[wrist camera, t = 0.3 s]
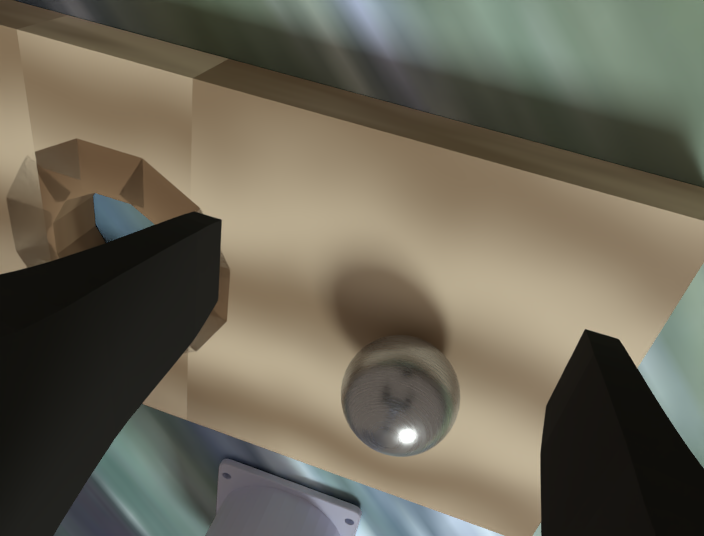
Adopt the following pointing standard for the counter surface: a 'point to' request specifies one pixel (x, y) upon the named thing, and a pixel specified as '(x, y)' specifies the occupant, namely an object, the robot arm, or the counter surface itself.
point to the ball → (400, 395)
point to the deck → (342, 246)
